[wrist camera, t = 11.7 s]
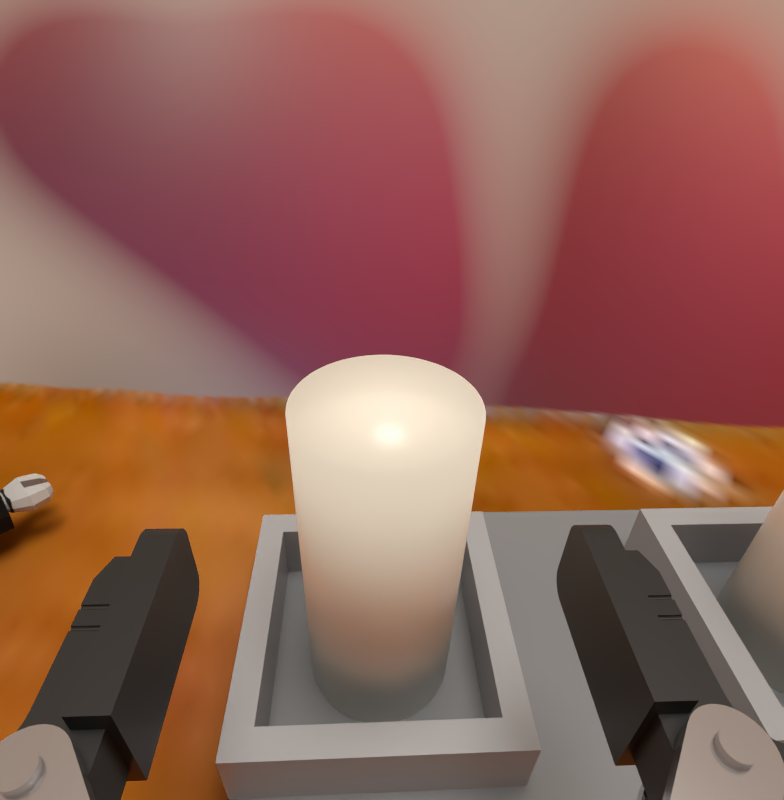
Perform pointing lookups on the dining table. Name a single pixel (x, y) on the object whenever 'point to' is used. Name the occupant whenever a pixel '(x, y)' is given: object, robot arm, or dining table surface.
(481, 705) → the grey double candle holder
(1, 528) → the robot toy
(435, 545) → the cream white cylinder
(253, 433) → the dining table surface
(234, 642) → the dining table surface
